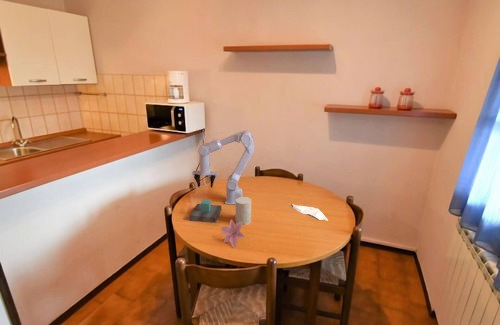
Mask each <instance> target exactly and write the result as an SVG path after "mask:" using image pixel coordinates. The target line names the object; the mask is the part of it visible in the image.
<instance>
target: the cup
mask: <svg viewBox="0 0 500 325" xmlns="http://www.w3.org/2000/svg"><path fill="white" fill-rule="evenodd" d="M239 222H243V225H242V226H247V225H249V224H251V223H252V198H250V197H248V196H242V197H239V198H237V199H236V204H235V224H237V223H239Z"/></svg>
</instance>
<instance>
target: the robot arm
mask: <svg viewBox="0 0 500 325" xmlns="http://www.w3.org/2000/svg"><path fill="white" fill-rule="evenodd" d="M234 142H236V143H241V144H242V145H243V146H244V152H243V153H242V155H241V157H240V159H239V161H238V163H237V164H236V167H235V168H234V170H233V171H232V173H231V175H229V176H228V177H227V182H226V187H225V188H226V189H225V190H226V191H225V192H226V195H225V196H226V198H225V199H226V200H225V202H224V204H225V205H236V199H237V198H239V197H243V188H241V187H239V186H238V184H239V180H240V178H241V175H242V174H243V172H244V171H245V168H246V166H247V165H248V163H249V161H250V159H251V158H252V156H253V154H254V152H255V143H254V136H253V134H252V133H251V131H249V130H247V129H246V130H243V131H239V132H236V133H234V134H231V135H229V136H227V137H225V138H223V139H221V140H220V139H215V138H214V139H212V141H210V142H208V143H207V142H205V143H203V144H202V145H200V146H199V148H198V151H197V152H198V155H199V170H194V171H192V176H193V178H194V180H195V182H196V184H197V187H198V188H200V187H201V176H204V177H205V176H210V177H209V180H210V189H211V188H213V187H214V181H215V180H216V178H217V177H218V172H216V171H211V168H210V162H211V161H210V153H213V152H216V151H219V150H221V149H222V147H223V146H225V145H228V144H232V143H234Z"/></svg>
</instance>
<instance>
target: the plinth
mask: <svg viewBox="0 0 500 325" xmlns="http://www.w3.org/2000/svg"><path fill="white" fill-rule="evenodd" d="M222 211H223V210H222V204H221V205H220V204H219V205H218V204H211V210H210V211H209V212H201V205H200V203H196V205H195V206H194V208H193V209H192V211H191V212H190V214H189V215H188V216H189V218H188V219H189V221H191V222H202V223H203V222H204V223H215V224H216V222H217V220H218V219H219V216H220V214H221V212H222Z"/></svg>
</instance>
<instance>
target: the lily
mask: <svg viewBox="0 0 500 325" xmlns="http://www.w3.org/2000/svg"><path fill="white" fill-rule="evenodd" d="M243 226H244V225H243V222H239V223H235V222H234V221H233V219H230V222H229V226H222V227H220V231H222V233H223V234H224V235H226V236H225V237H224V240H223V243H228V242H230V244H231V246H232V248H233V249H235V248H236V246H237V242H238V239H244V238H245V234H243V233H242V232H241V229H242V227H243Z"/></svg>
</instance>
